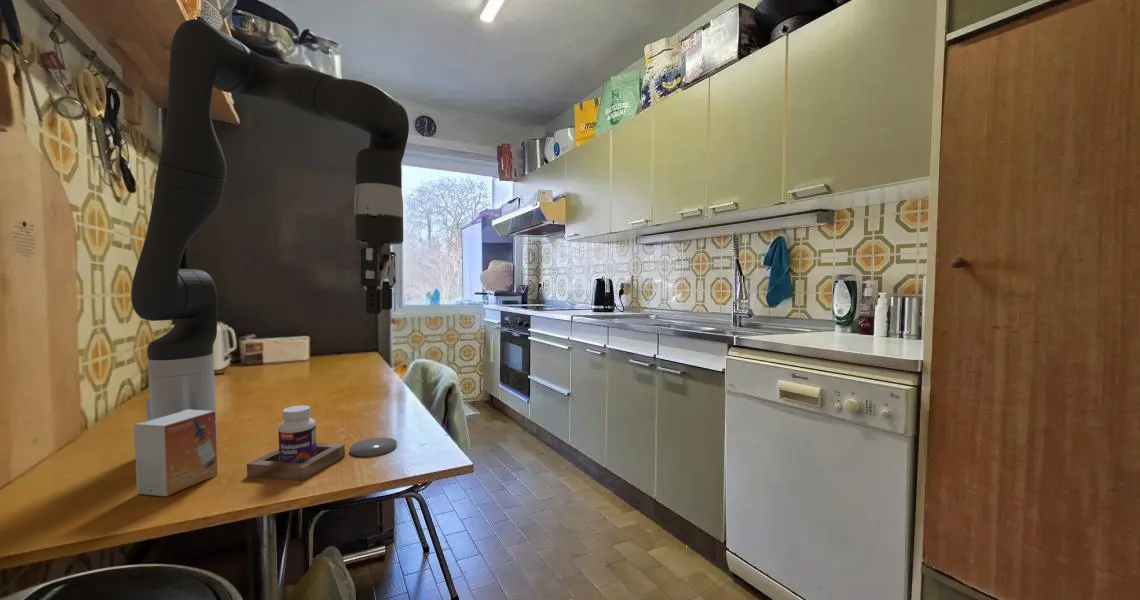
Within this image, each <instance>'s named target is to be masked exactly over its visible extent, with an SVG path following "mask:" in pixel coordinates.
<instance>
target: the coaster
mask: <svg viewBox="0 0 1140 600" xmlns="http://www.w3.org/2000/svg"><path fill="white" fill-rule="evenodd" d="M397 446H398V442H397V440H396V439H394V438H391V437H374V438H373V437H372V438H367V439H362V440H360V441H357V442H355V443H353V444H351V446H349V454H350V455H351V456H353V457H354V456H355V457H360V458H365V457H375V456H376V455H377V456H381V455H385V454H388V453H391V452H392V451H393V449H394V450H395V449H396V448H397ZM387 452H388V453H387ZM384 453H385V454H384Z"/></svg>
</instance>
